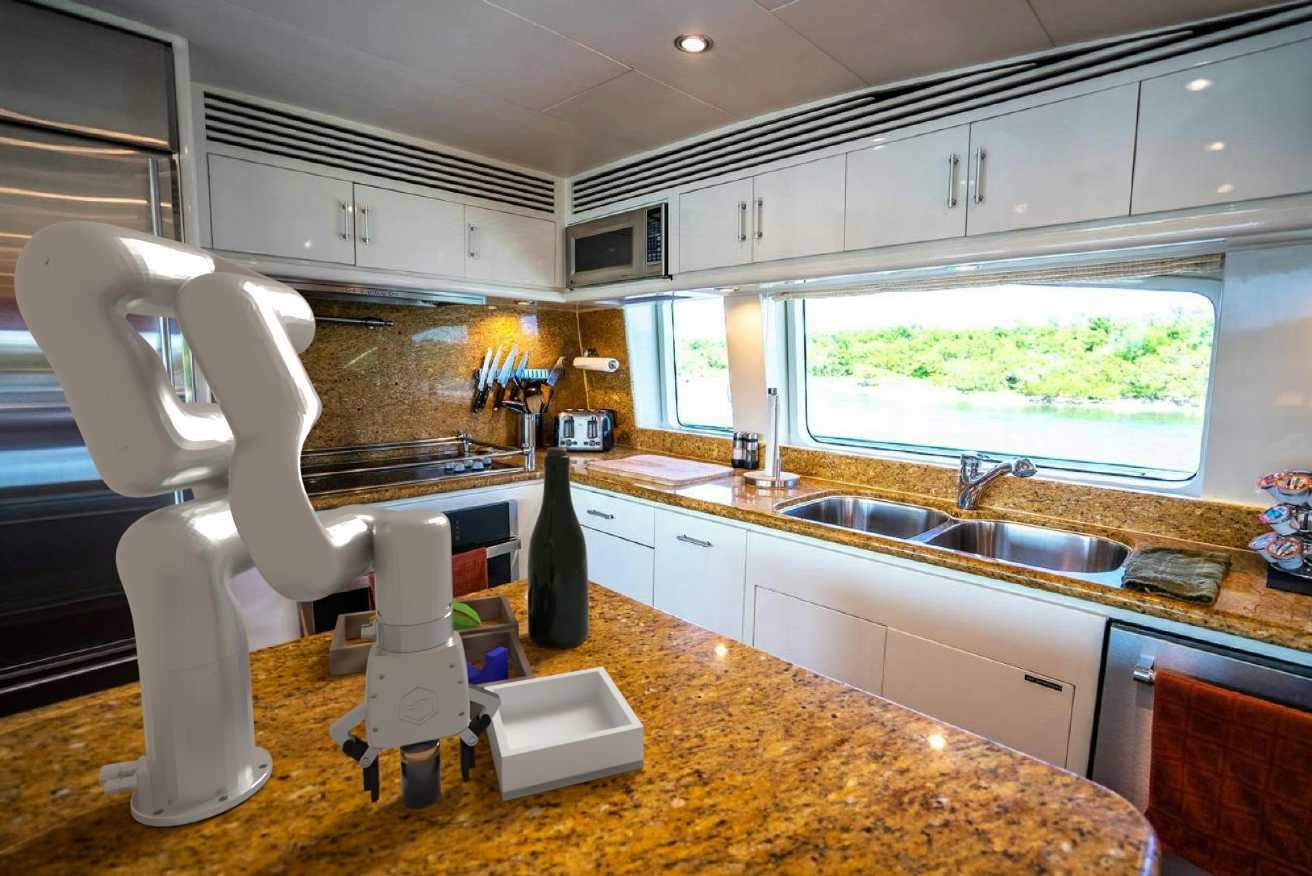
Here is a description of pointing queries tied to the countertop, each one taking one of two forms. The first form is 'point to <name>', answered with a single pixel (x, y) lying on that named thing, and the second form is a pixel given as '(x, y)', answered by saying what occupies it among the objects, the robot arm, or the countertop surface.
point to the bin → (562, 732)
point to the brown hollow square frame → (488, 642)
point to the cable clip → (490, 668)
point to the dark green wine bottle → (557, 563)
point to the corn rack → (357, 655)
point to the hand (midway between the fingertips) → (421, 783)
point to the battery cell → (420, 774)
